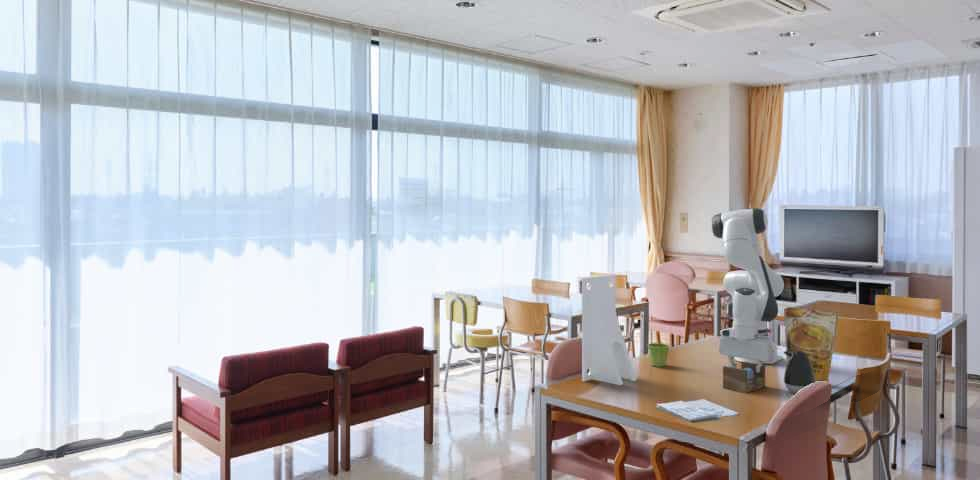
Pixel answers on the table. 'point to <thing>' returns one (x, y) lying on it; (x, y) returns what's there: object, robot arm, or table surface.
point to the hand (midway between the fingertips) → (745, 370)
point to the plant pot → (658, 354)
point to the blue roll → (750, 374)
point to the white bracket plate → (603, 333)
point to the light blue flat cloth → (696, 410)
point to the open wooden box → (743, 378)
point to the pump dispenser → (798, 371)
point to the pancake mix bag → (812, 337)
